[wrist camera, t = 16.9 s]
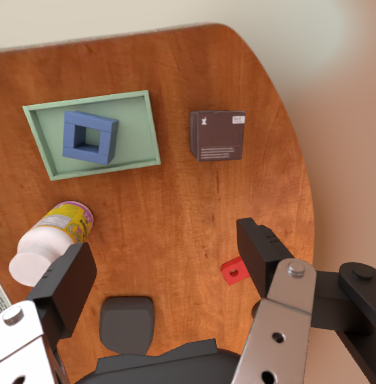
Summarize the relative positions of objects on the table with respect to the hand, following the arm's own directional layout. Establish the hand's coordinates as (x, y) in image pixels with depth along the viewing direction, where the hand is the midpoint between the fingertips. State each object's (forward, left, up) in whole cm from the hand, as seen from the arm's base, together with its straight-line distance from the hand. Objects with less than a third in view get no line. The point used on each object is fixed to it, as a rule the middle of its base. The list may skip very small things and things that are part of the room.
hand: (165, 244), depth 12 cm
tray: (+4, -9, -24) cm, 26 cm away
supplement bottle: (+18, -5, -25) cm, 31 cm away
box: (-7, +3, -25) cm, 26 cm away
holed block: (+4, -9, -24) cm, 26 cm away
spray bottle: (+37, +19, -25) cm, 48 cm away
